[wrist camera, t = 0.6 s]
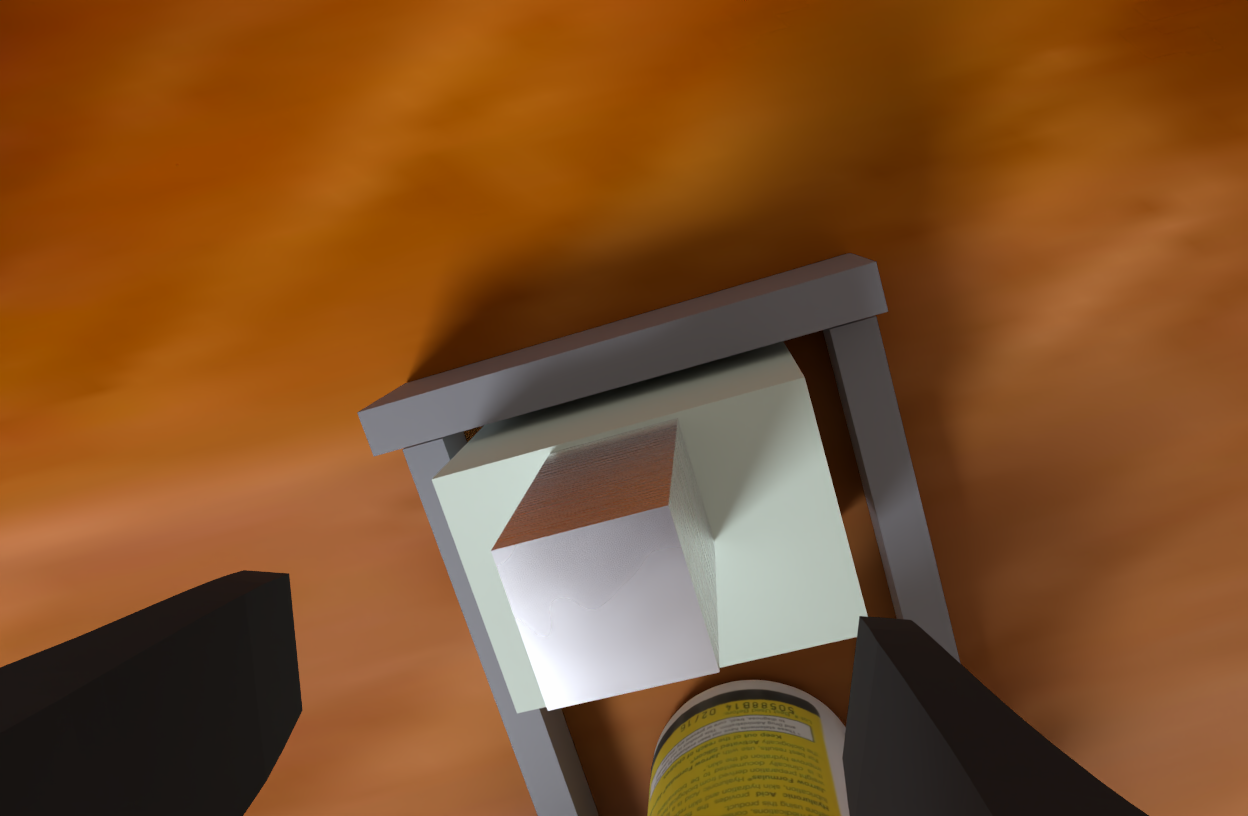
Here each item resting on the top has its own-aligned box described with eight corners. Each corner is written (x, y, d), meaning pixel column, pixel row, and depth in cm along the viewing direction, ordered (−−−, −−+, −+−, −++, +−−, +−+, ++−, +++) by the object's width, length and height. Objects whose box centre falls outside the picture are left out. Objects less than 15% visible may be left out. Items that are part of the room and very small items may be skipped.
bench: (611, 953, 24) (584, 1188, 19) (405, 383, 21) (291, 452, 15) (1004, 884, 23) (1108, 1118, 17) (849, 252, 19) (914, 274, 13)
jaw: (558, 598, 22) (452, 892, 12) (494, 414, 21) (328, 585, 11) (831, 531, 21) (937, 798, 11) (778, 334, 20) (848, 450, 10)
